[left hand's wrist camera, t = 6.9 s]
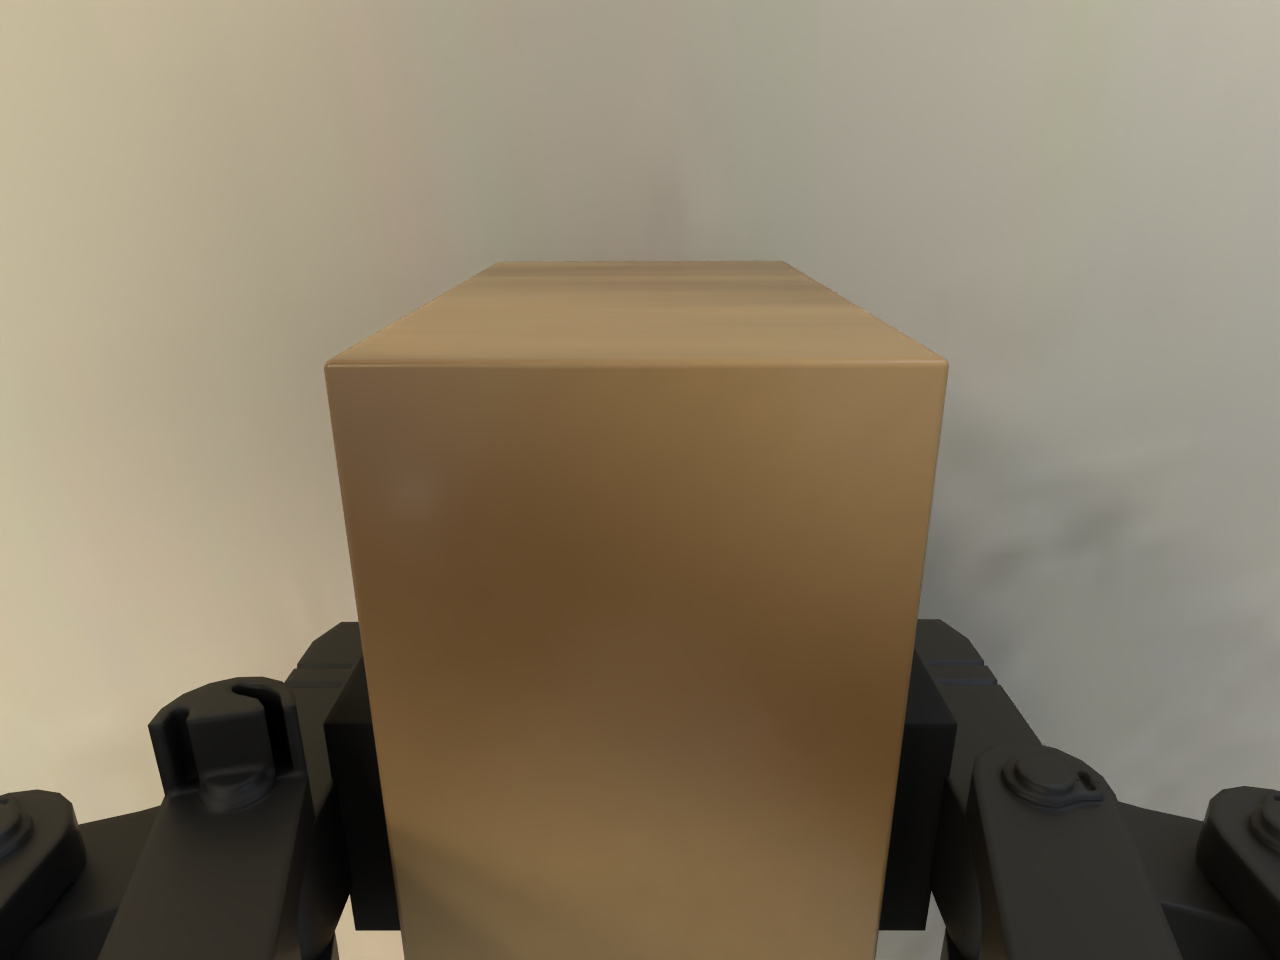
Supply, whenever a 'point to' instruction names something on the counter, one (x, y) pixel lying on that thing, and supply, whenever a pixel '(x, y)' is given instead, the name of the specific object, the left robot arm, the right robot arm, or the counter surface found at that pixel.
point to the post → (638, 606)
